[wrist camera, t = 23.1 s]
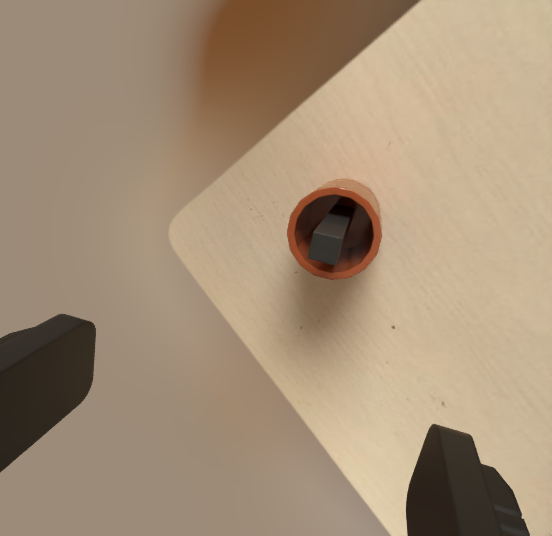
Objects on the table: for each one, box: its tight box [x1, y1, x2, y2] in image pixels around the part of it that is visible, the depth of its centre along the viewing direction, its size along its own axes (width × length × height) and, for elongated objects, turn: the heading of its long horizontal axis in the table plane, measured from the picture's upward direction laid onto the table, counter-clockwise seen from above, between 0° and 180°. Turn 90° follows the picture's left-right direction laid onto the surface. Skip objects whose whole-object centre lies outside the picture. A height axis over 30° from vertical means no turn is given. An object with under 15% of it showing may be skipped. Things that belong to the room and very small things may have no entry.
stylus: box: [308, 204, 354, 265], centre depth 29 cm, size 2×2×13 cm
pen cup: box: [287, 179, 382, 280], centre depth 32 cm, size 6×6×8 cm
